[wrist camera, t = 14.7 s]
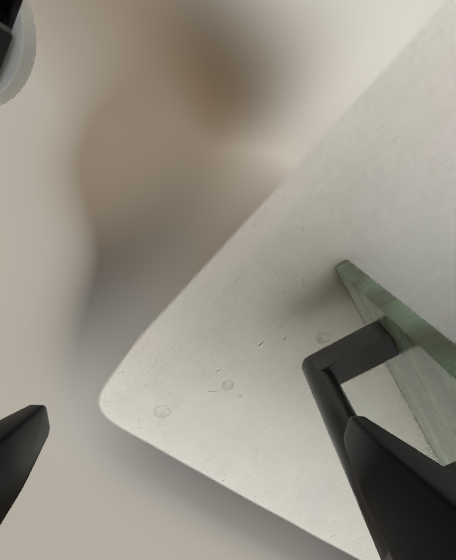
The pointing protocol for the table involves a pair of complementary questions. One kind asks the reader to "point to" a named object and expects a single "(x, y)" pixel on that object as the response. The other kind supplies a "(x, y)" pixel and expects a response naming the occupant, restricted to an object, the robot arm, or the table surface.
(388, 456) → the robot arm
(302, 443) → the table surface
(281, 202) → the table surface
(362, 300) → the green cabinet door
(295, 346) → the table surface
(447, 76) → the table surface
